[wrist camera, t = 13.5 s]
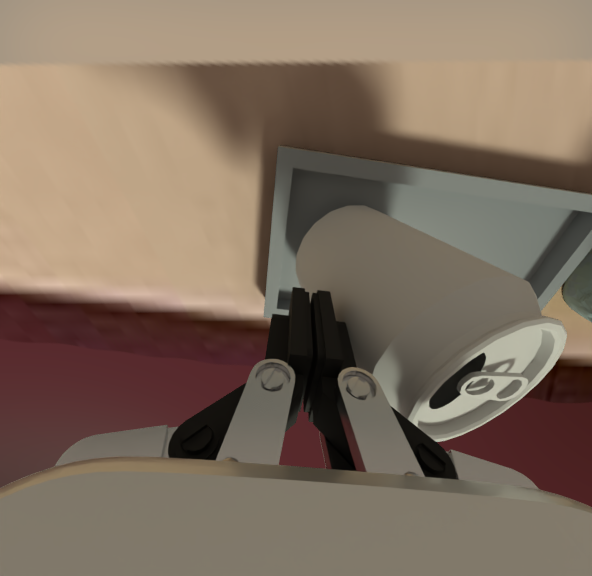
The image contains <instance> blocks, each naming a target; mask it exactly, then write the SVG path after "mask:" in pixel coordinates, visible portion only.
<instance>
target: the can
mask: <svg viewBox="0 0 592 576" xmlns="http://www.w3.org/2000/svg"><path fill="white" fill-rule="evenodd" d="M295 271H296V275H297V278H298V282H299V285H300V286H301V288H305V292H309V296H310V302H311V297H312V293H317V290H323V291H330V293H331V298H332V303H333V308H334V313H335V318H336V321H340V322H345V323H346V326H347V330H348V334H349V338H350V342H351V346H352V350H353V354H354V358H355V362H356V366H357V368H361V369H363V370H366V371H367V372H369V373H371V374H372V375H373V376H374V377H375V378H376V379H377V381H378V382H379V384H380V386H381V388H382V390H383V392H384V394H385V396H386V398H387V400H388V402H389V404H390V406H391V407H393V408H394V409H395V410H397V411H398V412H399V413H400V414H402V415H403V416H404V417H405V418H407V419H408V420H409V421H410V422H412V423H413V424H414V425H415V426H417V427H418V428H419V429H420V430H422V431H423V432H424V433H425V434H427V435H428V436H429V437H431V438H432V439H433V440H434V441H436V442H439V441H445V440H448V439H451V438H454V437H457V436H460V435H463V434H465V433H467V432H469V431H471V430H473V429H475V428H477V427H479V426H481V425H483V424H485V423H486V422H488V421H490V420H491V419H493V418H494V417H496V416H498V415H499V414H501V413H502V412H504V411H505V410H507V409H508V408H509V407H511V406H512V405H513V404H515V403H516V402H517V401H519V400H520V399H521V398H522V397H524V396H525V395H526V394H527V393H528V392H529V391H530V390H531V389H532V388H534V387H535V386H536V385H537V384H538V383H539V382H540V381H541V380H542V379H543V377H544V376H545V375H546V374H547V373H548V372H549V371H550V369H551V368H552V367H553V366H554V364H555V363H556V361H557V360H558V358H559V356H560V355H561V353H562V351H563V350H564V346H565V342H566V338H567V333H566V330H565V328H564V326H563V324H562V322H561V321H559V320H557V319H554V318H550V317H546V316H542V315H541V311H540V307H539V304H538V300H537V296H536V294H535V292H534V290H533V289H532V287H531V285H530V283H529V282H528V281H526V280H523V279H521V278H519V277H517V276H515V275H513V274H511V273H509V272H506V271H504V270H502V269H500V268H498V267H496V266H494V265H492V264H489V263H487V262H485V261H483V260H481V259H479V258H477V257H475V256H473V255H470V254H468V253H466V252H464V251H462V250H460V249H458V248H456V247H453V246H451V245H449V244H447V243H445V242H443V241H441V240H439V239H436V238H434V237H432V236H430V235H428V234H426V233H424V232H422V231H419V230H417V229H415V228H413V227H411V226H409V225H407V224H405V223H402V222H400V221H398V220H396V219H394V218H392V217H390V216H388V215H386V214H383V213H381V212H379V211H377V210H374V209H372V208H369V207H367V206H365V205H350V206H345V207H342V208H339V209H336V210H334V211H331V212H329V213H328V214H327V215H325V216H324V217H322V218H321V219H320V220H318V221H317V222H316V223H315V224H314V225H313V226H312V227H311V229H310V230H309V231H308V233H307V234H306V235H305V236H304V238H303V240H302V242H301V245H300V247H299V250H298V252H297V255H296V270H295Z"/></svg>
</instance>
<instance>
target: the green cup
mask: <svg viewBox="0 0 592 576" xmlns="http://www.w3.org/2000/svg"><path fill="white" fill-rule="evenodd" d="M563 298H564V301H565V302H566V303H567V305H568V306H569V307H570V308H571V309H572V310H574V311H575V312H577V313H578V314H580V315H581V316H582V317H584V318H586V319H587V320H589V321H591V322H592V249H591V250H590V251H589V252H588V254H587V255H586V256H585V257H584V259H583V260H582V261H581V262H580V264H579V265H578V266H577V267H576V268H575V270H574V271H573V272H572V273H571V275H570V276H569V277H568V278H567V280H566V281H565V284H564V287H563Z"/></svg>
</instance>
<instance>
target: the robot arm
mask: <svg viewBox="0 0 592 576" xmlns="http://www.w3.org/2000/svg"><path fill="white" fill-rule="evenodd" d="M302 401H303V404H304V412H308V413H309V422H313V424H314V425H315V426H316V427H317V428H318V430H319V431H320V441H321V445H322V451H323V455H324V460H325V465H326V469H322V468H309V467H296V466H283V465H278V464H279V459H280V454H281V449H282V444H283V439H284V434H285V432H286V431H287V430H288V429H289V428H290V427H291V426H293V425H294V424H295V423H296V420H297V415H298V411H299V412H300V409H301V405H302ZM0 576H592V507H589V506H587V505H585V504H583V503H580V502H577V501H574V500H572V499H569V498H566V497H563V496H560V495H557V494H553V493H550V492H546V491H541V490H539V489H538V487H537V486H536V485H535V484H534V483H533V482H532V481H531V480H529V479H528V478H527V477H525V476H524V475H522V474H521V473H519V472H517V471H515V470H513V469H510V468H506V467H504V466H500V465H497V464H494V463H491V462H488V461H485V460H482V459H479V458H475V457H473V456H469V455H466V454H463V453H460V452H457V451H454V450H450V451H449V452H446V451H445V450H444V449H443V448H442V447H441V446H440V445H439V444H438V443H437V442H436V441H434V440H433V439H432V438H431V437H429V436H428V435H427V434H425V433H424V432H423V431H422V430H420V429H419V428H418V427H417V426H415V425H414V424H413V423H412V422H410V421H409V420H408V419H407V418H405V417H404V416H403V415H402V414H400V413H399V412H398V411H397V410H395V409H394V408H393V407H391V406H390V404H389V402H388V400H387V398H386V396H385V394H384V392H383V390H382V388H381V386H380V384H379V382H378V381H377V379H376V378H375V377H374V376H373V375H372V374H371V373H369V372H367V371H366V370H363V369H361V368H357V366H356V362H355V358H354V354H353V350H352V346H351V342H350V338H349V334H348V330H347V326H346V323H345V322H340V321H336V318H335V313H334V308H333V303H332V298H331V293H330V291H323V290H317V293H312V297H311V302H310V296H309V292H305V288H298V287H293V288H292V294H291V301H290V307H289V314H288V315H280V314H272V319H271V325H270V331H269V338H268V344H267V351H266V357H265V360H263V361H261V362H259V363H258V364H256V365H255V366H254V368H253V370H252V371H251V373H250V376H249V378H248V381H247V383H245V384H243V385H242V386H240V387H239V388H237V389H235V390H234V391H232V392H231V393H229V394H228V395H226V396H224V397H223V398H221V399H220V400H218V401H216V402H215V403H213V404H212V405H210V406H209V407H207V408H205V409H204V410H202V411H201V412H199V413H197V414H196V415H194V416H193V417H191V418H190V419H188V420H186V421H185V422H184V423H183V424H181V425H180V426H179V427H174V428H168V426H167V425H164V426H156V427H149V428H143V429H135V430H128V431H121V432H114V433H106V434H99V435H94V436H90V437H87V438H84V439H82V440H81V441H79V442H77V443H75V444H74V445H73V446H71V447H70V448H69V449H68V450H67V451H66V452H64V453H63V455H62V456H61V458H60V459H59V460H58V462H57V463H56V465H55V467H52V468H49V469H47V470H43V471H40V472H37V473H34V474H32V475H29V476H27V477H24V478H22V479H19V480H17V481H15V482H12V483H10V484H8V485H6V486H4V487H2V488H0Z"/></svg>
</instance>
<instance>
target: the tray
mask: <svg viewBox="0 0 592 576" xmlns="http://www.w3.org/2000/svg"><path fill="white" fill-rule="evenodd" d="M350 205H365V206H367V207H369V208H372V209H374V210H377V211H379V212H381V213H383V214H386V215H388V216H390V217H392V218H394V219H396V220H398V221H400V222H402V223H405V224H407V225H409V226H411V227H413V228H415V229H417V230H419V231H422V232H424V233H426V234H428V235H430V236H432V237H434V238H436V239H439V240H441V241H443V242H445V243H447V244H449V245H451V246H453V247H456V248H458V249H460V250H462V251H464V252H466V253H468V254H470V255H473V256H475V257H477V258H479V259H481V260H483V261H485V262H487V263H489V264H492V265H494V266H496V267H498V268H500V269H502V270H504V271H506V272H509V273H511V274H513V275H515V276H517V277H519V278H521V279H523V280H526V281H528V282H529V283H530V285H531V287H532V289H533V290H534V292H535V294H536V296H537V300H538V304H539V307H540V311H541V310H542V309H543V308H544V307H545V306H546V304H547V303H548V302H549V301H550V299H551V298H552V297H553V296H554V294H555V293H556V292H557V291H558V289H559V288H560V287H561V286H562V285H563V283H564V282H565V281H566V280H567V278H568V277H569V276H570V275H571V273H572V272H573V271H574V270H575V268H576V267H577V266H578V265H579V264H580V262H581V261H582V260H583V259H584V257H585V256H586V255H587V254H588V252H589V251H590V250H591V249H592V194H591V193H585V192H578V191H572V190H565V189H559V188H552V187H546V186H539V185H533V184H527V183H520V182H514V181H507V180H501V179H494V178H488V177H482V176H475V175H469V174H462V173H456V172H449V171H443V170H437V169H430V168H424V167H417V166H411V165H404V164H398V163H392V162H385V161H379V160H372V159H366V158H359V157H353V156H347V155H340V154H334V153H327V152H321V151H314V150H308V149H301V148H295V147H289V146H282V145H280V146H278V153H277V165H276V177H275V189H274V200H273V212H272V224H271V236H270V248H269V260H268V271H267V283H266V295H265V307H264V317H267V318H272V314H280V315H288V314H289V307H290V301H291V294H292V288H293V287H298V288H301V286H300V285H299V282H298V278H297V275H296V271H295V270H296V255H297V252H298V250H299V247H300V245H301V242H302V240H303V238H304V236H305V235H306V234H307V233H308V231H309V230H310V229H311V227H312V226H313V225H314V224H315V223H316V222H317V221H318V220H320V219H321V218H322V217H324V216H325V215H327V214H328V213H329V212H331V211H334V210H336V209H339V208H342V207H345V206H350Z"/></svg>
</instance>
